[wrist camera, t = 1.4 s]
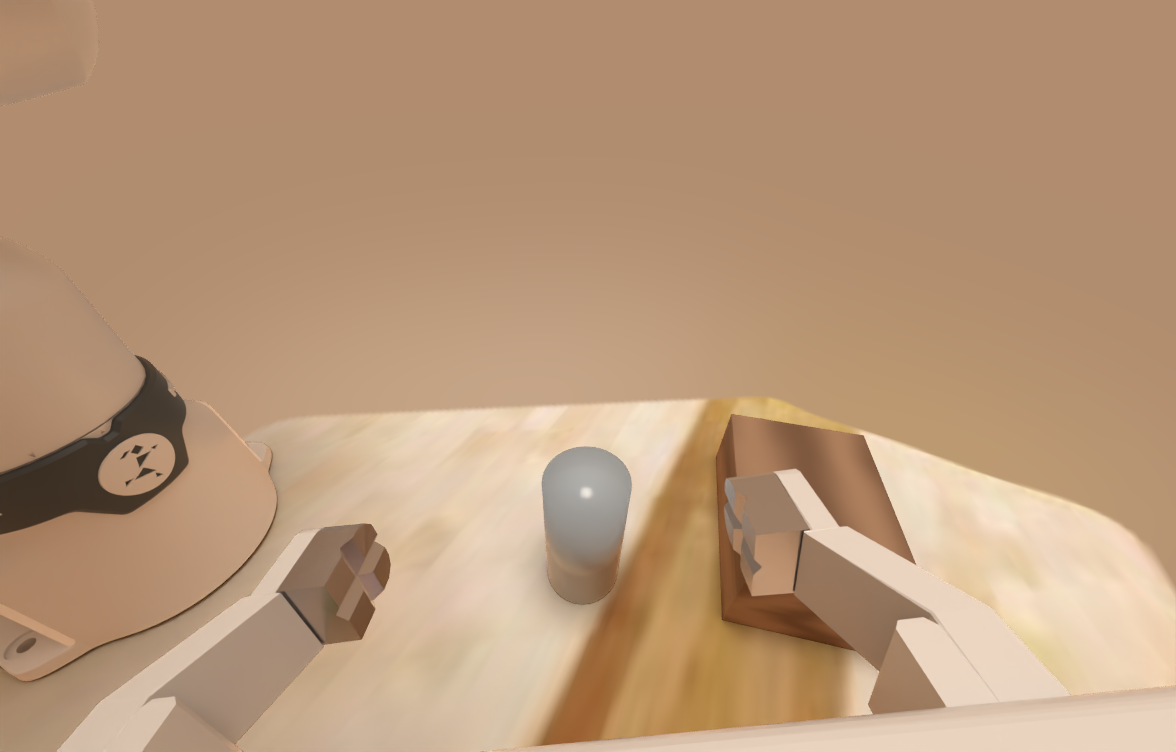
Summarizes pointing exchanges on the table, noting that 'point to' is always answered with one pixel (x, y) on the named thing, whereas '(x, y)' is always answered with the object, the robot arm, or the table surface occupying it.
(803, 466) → the walnut block
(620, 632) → the table surface
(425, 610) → the table surface
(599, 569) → the metal cylinder
